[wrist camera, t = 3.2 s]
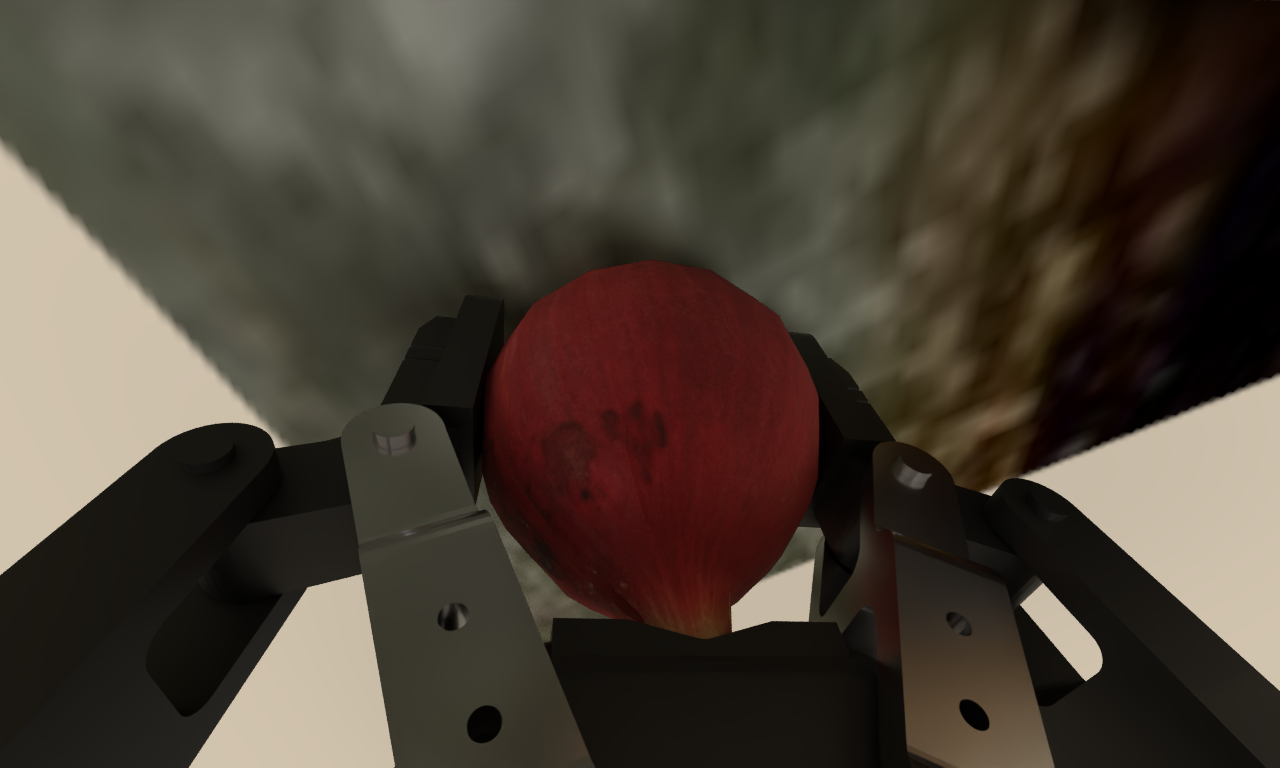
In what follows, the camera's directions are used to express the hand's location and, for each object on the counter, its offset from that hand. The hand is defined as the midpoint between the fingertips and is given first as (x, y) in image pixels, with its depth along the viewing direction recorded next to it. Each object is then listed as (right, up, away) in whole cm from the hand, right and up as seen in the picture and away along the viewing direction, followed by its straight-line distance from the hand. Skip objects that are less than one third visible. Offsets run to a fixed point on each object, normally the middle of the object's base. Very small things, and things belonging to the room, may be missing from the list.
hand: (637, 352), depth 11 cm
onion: (0, +1, +1) cm, 1 cm away
